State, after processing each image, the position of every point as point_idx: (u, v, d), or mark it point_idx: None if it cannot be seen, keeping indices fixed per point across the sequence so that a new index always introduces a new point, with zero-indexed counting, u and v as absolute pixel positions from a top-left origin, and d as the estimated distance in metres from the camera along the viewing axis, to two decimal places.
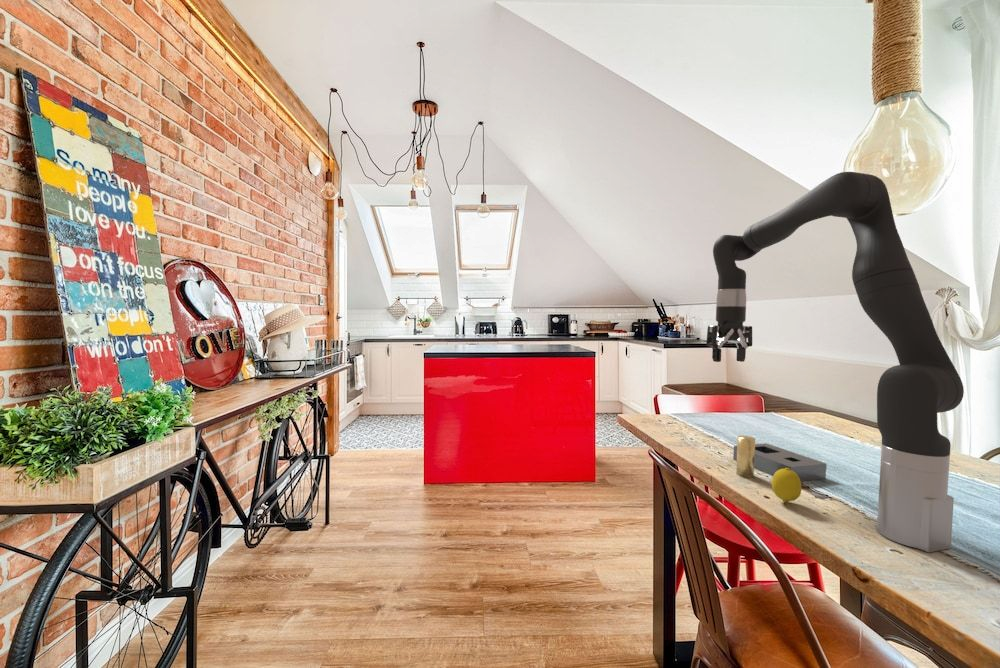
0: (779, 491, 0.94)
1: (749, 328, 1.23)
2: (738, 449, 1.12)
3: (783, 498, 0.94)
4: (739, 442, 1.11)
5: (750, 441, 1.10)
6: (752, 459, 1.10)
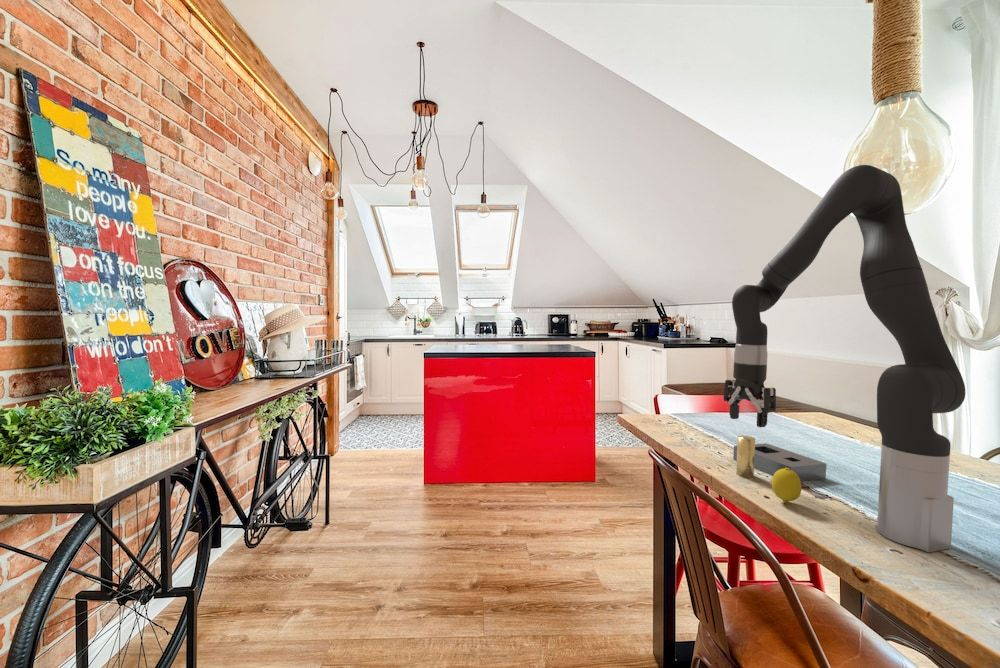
0: (779, 491, 0.94)
1: None
2: (738, 449, 1.12)
3: (783, 498, 0.94)
4: (739, 442, 1.11)
5: (750, 441, 1.10)
6: (752, 459, 1.10)
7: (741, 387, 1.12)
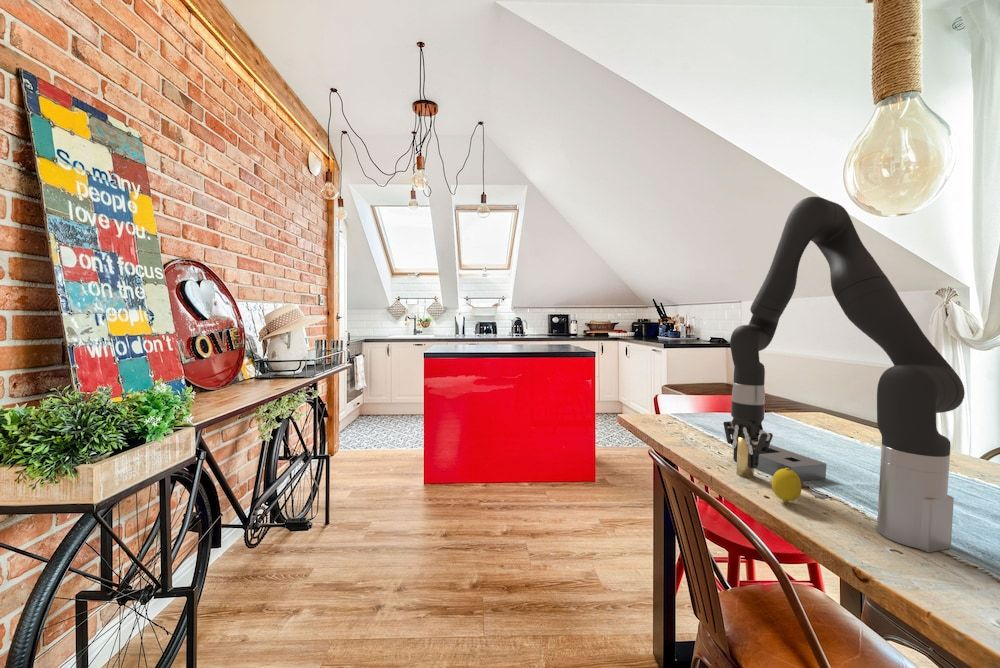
0: (779, 491, 0.94)
1: None
2: (738, 449, 1.12)
3: (783, 498, 0.94)
4: (739, 442, 1.11)
5: None
6: None
7: (739, 425, 1.12)
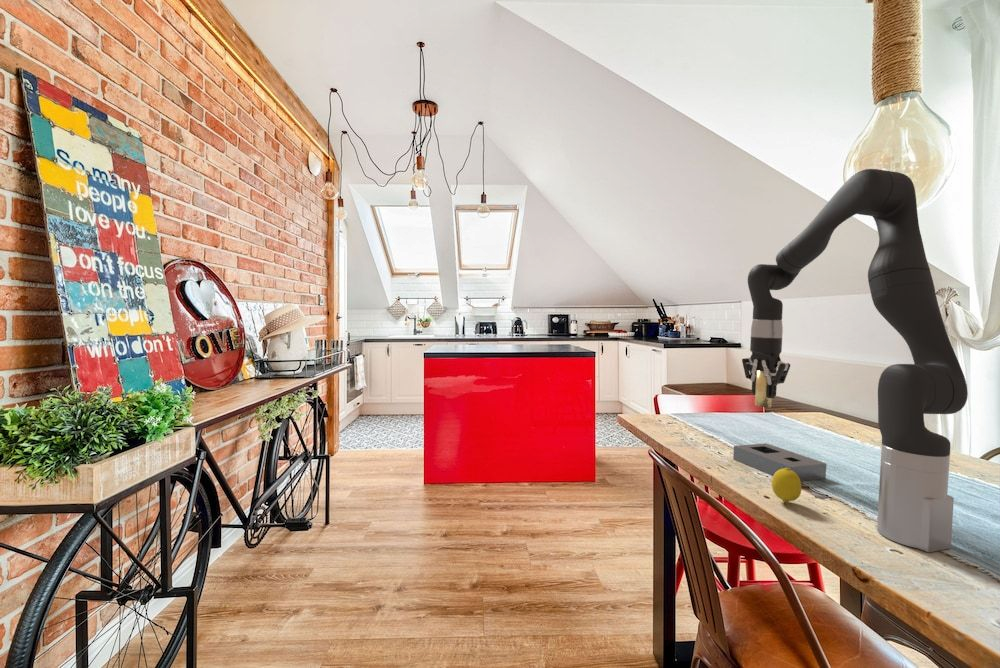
0: (779, 491, 0.94)
1: None
2: (757, 381, 1.20)
3: (783, 498, 0.94)
4: (758, 375, 1.19)
5: None
6: None
7: (757, 359, 1.20)
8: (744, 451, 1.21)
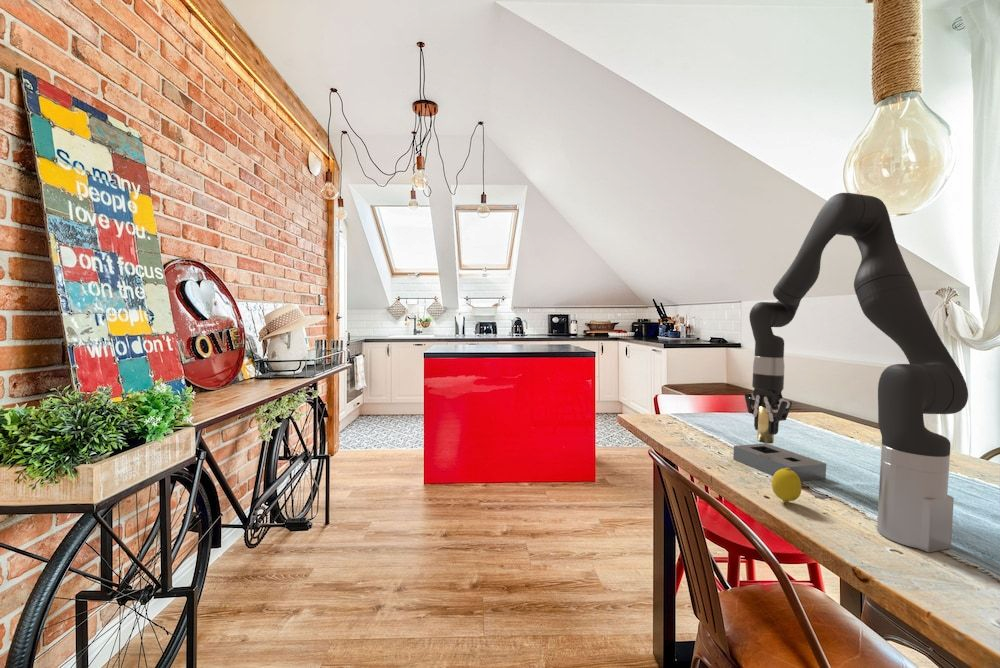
0: (779, 491, 0.94)
1: None
2: (759, 417, 1.21)
3: (783, 498, 0.94)
4: (760, 411, 1.20)
5: None
6: None
7: (759, 395, 1.21)
8: (744, 451, 1.21)
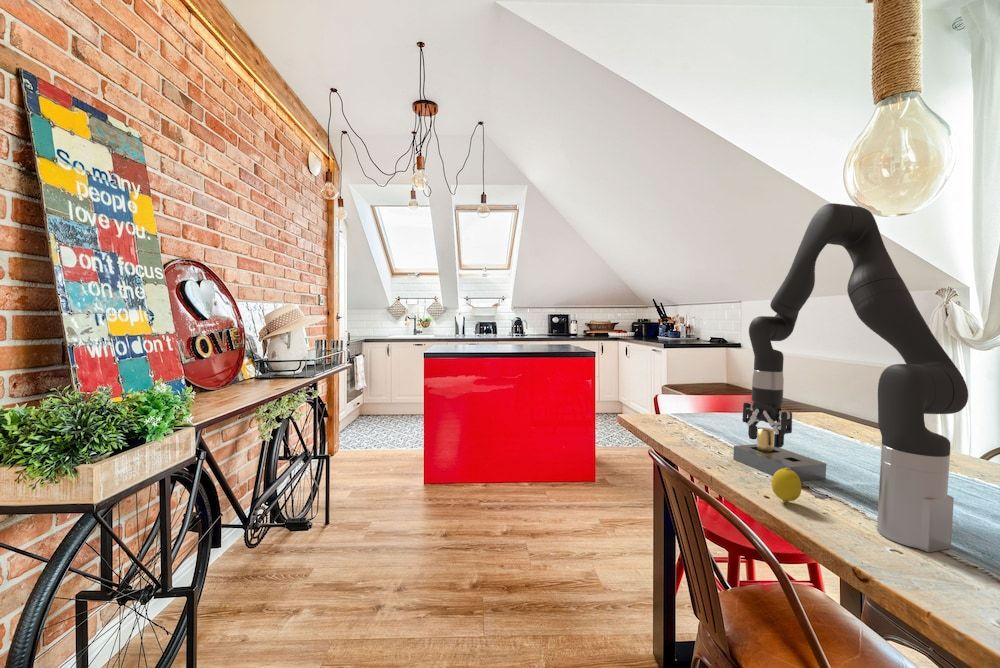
0: (779, 491, 0.94)
1: None
2: (758, 440, 1.21)
3: (783, 498, 0.94)
4: (759, 433, 1.21)
5: (769, 432, 1.19)
6: (771, 449, 1.19)
7: (759, 410, 1.21)
8: (744, 451, 1.21)
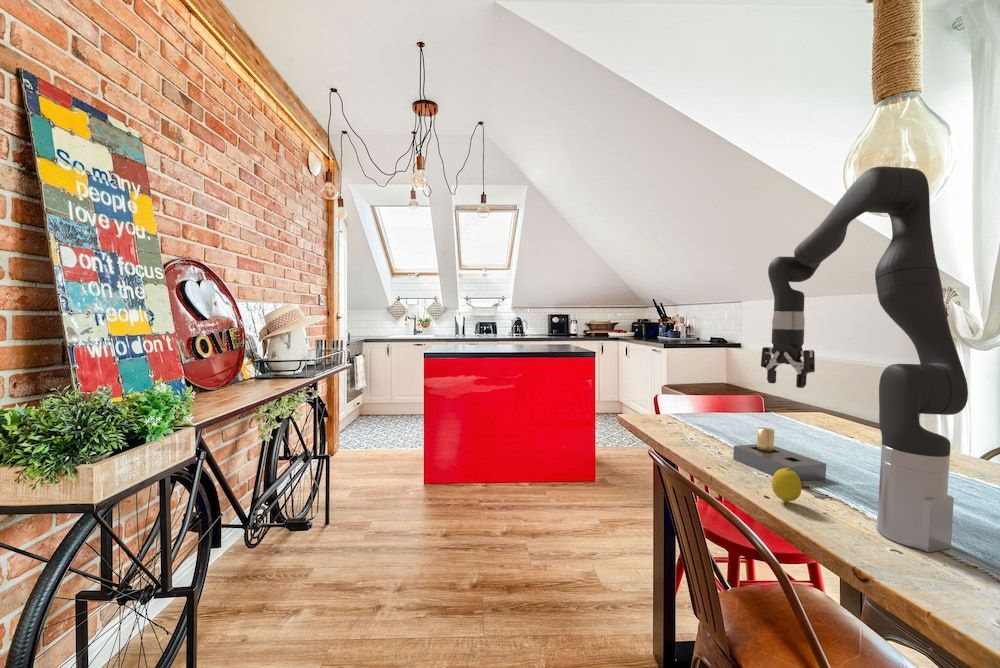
0: (779, 491, 0.94)
1: None
2: (758, 440, 1.21)
3: (783, 498, 0.94)
4: (759, 433, 1.21)
5: (770, 432, 1.19)
6: (771, 449, 1.19)
7: (779, 352, 1.19)
8: (744, 451, 1.21)
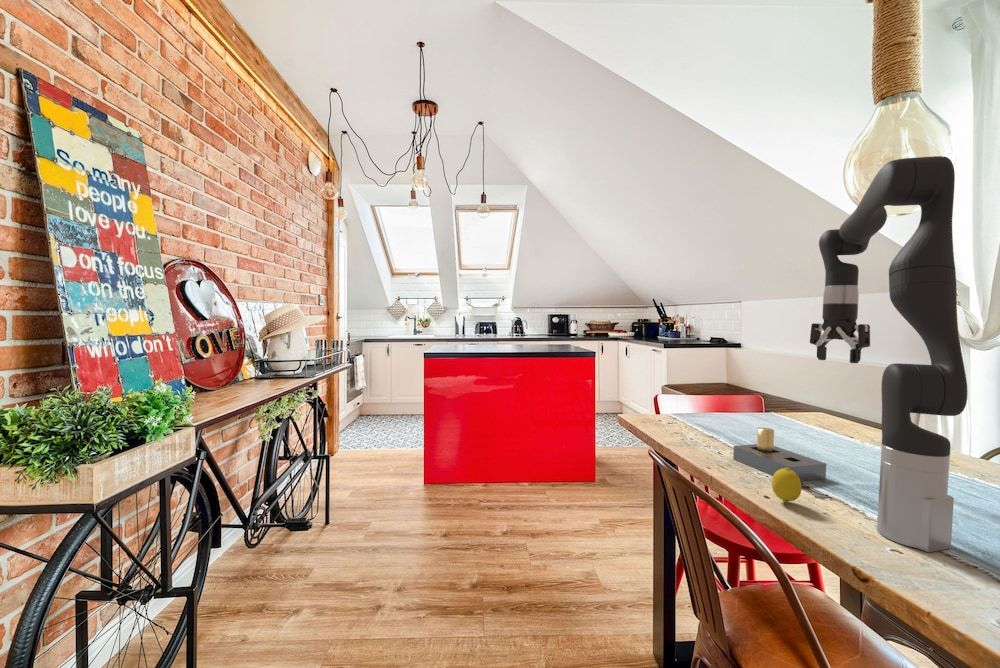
0: (779, 491, 0.94)
1: None
2: (758, 440, 1.21)
3: (783, 498, 0.94)
4: (759, 433, 1.21)
5: (770, 432, 1.19)
6: (771, 449, 1.19)
7: (831, 327, 1.16)
8: (744, 451, 1.21)
